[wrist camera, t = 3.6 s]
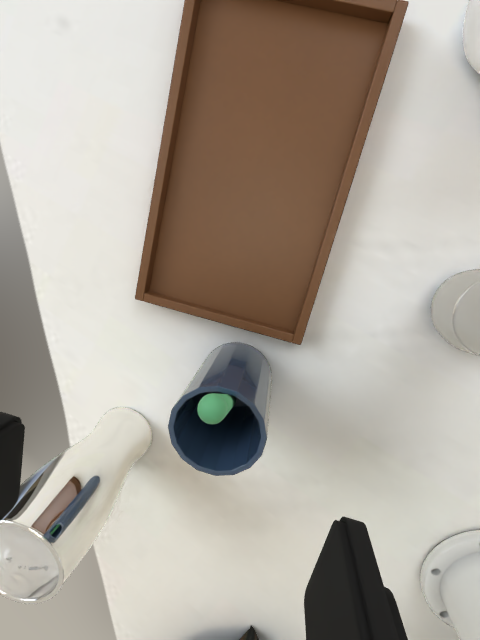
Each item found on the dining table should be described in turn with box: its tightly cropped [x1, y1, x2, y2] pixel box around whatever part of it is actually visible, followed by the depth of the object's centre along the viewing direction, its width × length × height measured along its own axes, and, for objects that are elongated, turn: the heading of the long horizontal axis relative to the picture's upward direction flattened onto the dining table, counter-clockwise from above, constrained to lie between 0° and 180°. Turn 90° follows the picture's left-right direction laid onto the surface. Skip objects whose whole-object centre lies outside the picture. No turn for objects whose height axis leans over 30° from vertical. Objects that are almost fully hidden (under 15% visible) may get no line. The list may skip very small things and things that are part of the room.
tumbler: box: [168, 342, 272, 476], centre depth 27 cm, size 7×7×10 cm
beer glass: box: [0, 407, 152, 604], centre depth 28 cm, size 7×7×15 cm
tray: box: [135, 0, 408, 345], centre depth 27 cm, size 16×26×2 cm, turn 166°
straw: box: [197, 393, 236, 424], centre depth 22 cm, size 10×1×18 cm, turn 166°
